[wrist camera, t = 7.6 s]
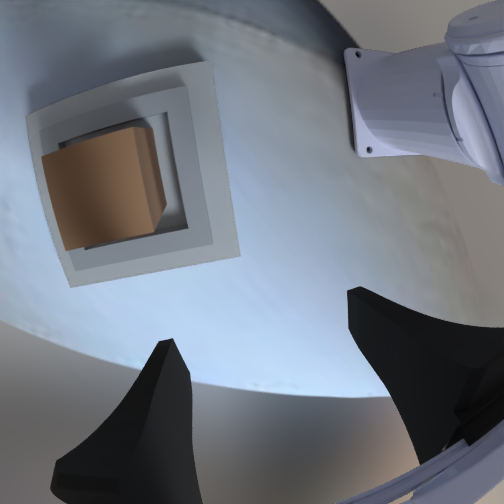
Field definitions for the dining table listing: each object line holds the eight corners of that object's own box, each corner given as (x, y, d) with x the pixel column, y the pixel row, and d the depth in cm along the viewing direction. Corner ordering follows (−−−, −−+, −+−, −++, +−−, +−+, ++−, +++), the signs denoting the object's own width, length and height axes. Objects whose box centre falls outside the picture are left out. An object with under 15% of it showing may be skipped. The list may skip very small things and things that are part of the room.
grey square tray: (210, 67, 16) (211, 55, 13) (237, 244, 20) (243, 262, 18) (40, 116, 14) (17, 116, 12) (79, 274, 19) (65, 295, 17)
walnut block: (153, 128, 15) (132, 127, 10) (166, 204, 17) (154, 232, 12) (81, 148, 14) (41, 156, 10) (97, 219, 16) (65, 251, 12)
